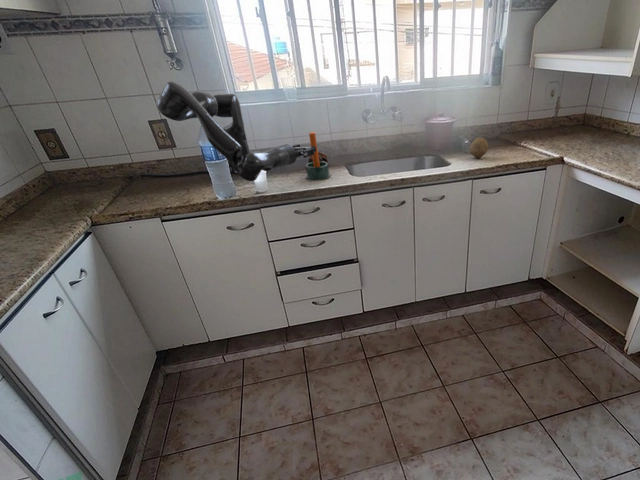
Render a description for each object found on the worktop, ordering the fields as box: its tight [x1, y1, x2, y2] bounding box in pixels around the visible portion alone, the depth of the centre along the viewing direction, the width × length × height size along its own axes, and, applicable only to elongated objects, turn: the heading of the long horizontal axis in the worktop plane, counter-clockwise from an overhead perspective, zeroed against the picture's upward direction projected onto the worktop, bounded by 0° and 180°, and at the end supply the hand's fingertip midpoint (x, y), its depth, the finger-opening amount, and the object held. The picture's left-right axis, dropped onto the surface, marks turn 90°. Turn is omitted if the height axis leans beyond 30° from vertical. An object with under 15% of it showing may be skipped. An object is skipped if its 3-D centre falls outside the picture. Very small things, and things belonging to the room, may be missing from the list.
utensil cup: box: [305, 161, 330, 181], centre depth 173 cm, size 10×10×6 cm
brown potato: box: [468, 137, 489, 159], centre depth 190 cm, size 9×9×10 cm
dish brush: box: [308, 131, 320, 167], centre depth 169 cm, size 5×5×18 cm
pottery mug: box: [307, 151, 329, 164], centre depth 187 cm, size 12×10×8 cm
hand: (307, 147), depth 164 cm, fingers open, 8 cm apart
